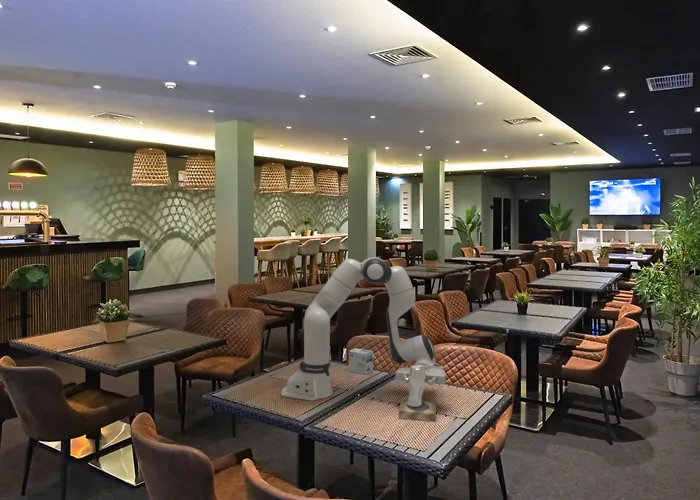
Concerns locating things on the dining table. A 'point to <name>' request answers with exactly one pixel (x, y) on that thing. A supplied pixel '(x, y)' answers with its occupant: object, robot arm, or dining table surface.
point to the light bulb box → (360, 361)
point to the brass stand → (418, 411)
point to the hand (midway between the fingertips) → (418, 381)
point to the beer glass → (416, 385)
